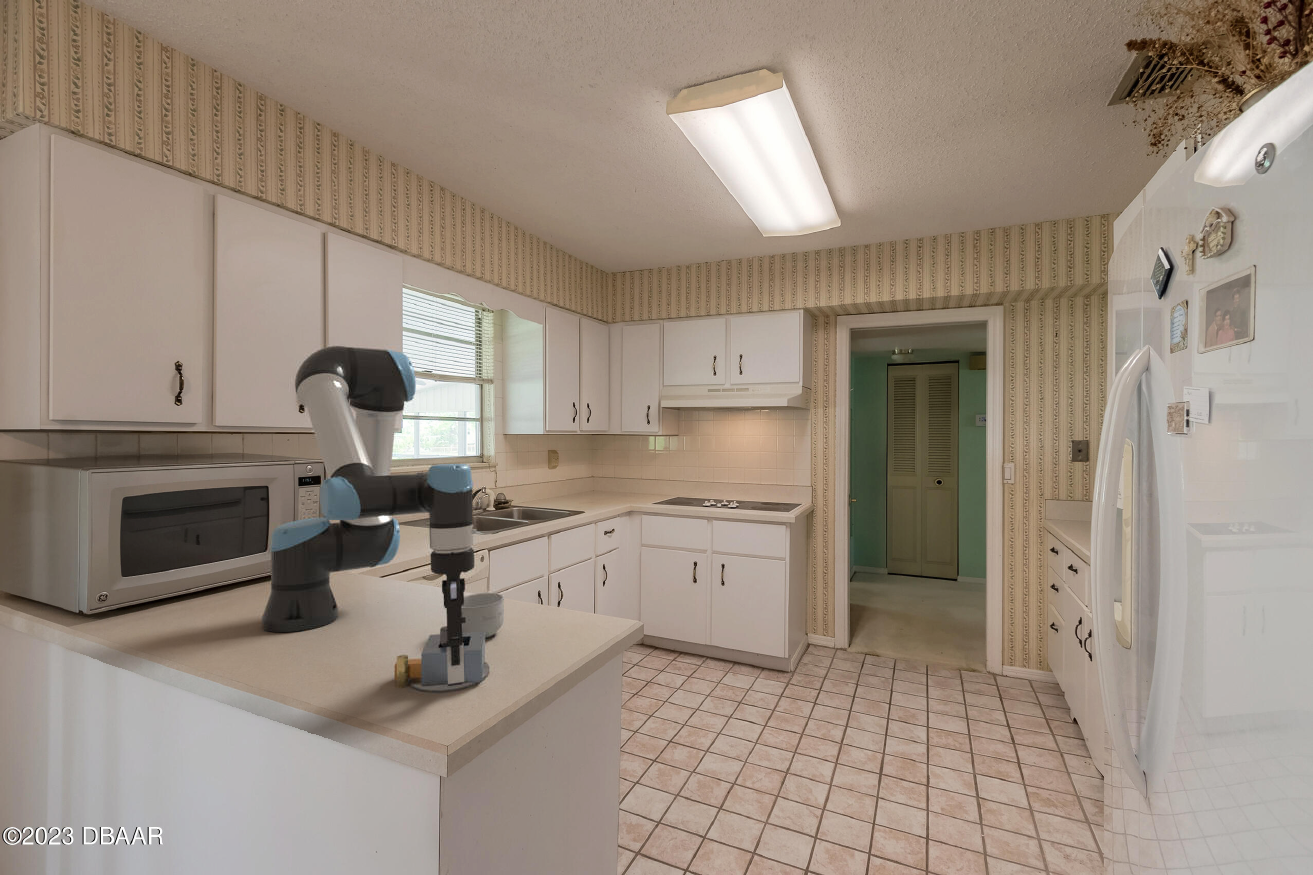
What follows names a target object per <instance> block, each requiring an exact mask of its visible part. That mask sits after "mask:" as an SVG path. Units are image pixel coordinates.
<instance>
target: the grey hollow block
mask: <svg viewBox="0 0 1313 875" xmlns="http://www.w3.org/2000/svg"><path fill="white" fill-rule="evenodd" d="M462 639H463V651H464V682H472V681H481V682H483V681H482V676H483V669H484V663H485V662H486V638H485V631H480V632H465V633H462ZM420 655H421V657H420V658H412V659H411V658H410V659H409V658H408V678H420V677H421V686H426V685H437V684H448V669H447V647H445V648H440V633H439V634H438V633H437V634H435V633H434V634H429V636H428V638H427V640H426V643H425V644H424V647H423V649H422V652H421V654H420ZM394 680H397V661H396V662H395V664H394ZM459 683H461V682H459Z"/></svg>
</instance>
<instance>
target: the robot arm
mask: <svg viewBox="0 0 1313 875" xmlns="http://www.w3.org/2000/svg"><path fill="white" fill-rule="evenodd" d="M416 381H417V380H416V374H415V370H414V367H413V364H412V362H411V359H410V358H409V356H407V355H406V354H405V353H403V352H400V351H396V350H389V349H383V348H381V349H378V348H368V347H367V348H365V347H354V346H353V347H351V346H345V345H344V346H342V345H332V346H327V347H323V348H320V349H318V350H316V351H315V352H313V353H311V354H310V355H309V356H308V357H307V358H306V359H305V360H304V361H303V362H302V364H301V365H300V366H299V368H298V370H297V372H296V375H295V380H294V388H295V393H296V398H297V399H298V401H299V403H300V404H301V405H302V406H304V407H305V408H306V409H307V410H306V411H307V413H308V416H309V420H310V423H311V425H312V426H311V427H312V429H313V432H314V435H315V439H316V442H317V444H318V445H317V446H318V448H319V452H320V455H321V458H322V462H323V464H324V468H325V471H326V474H327V478H326V479H324V480H323V481H322V482H321V486H320V489H319V490H320V492H319V502H320V509H321V510H320V511H321V512H322V515H323V516H324V517H314V518H311V517H310V518H305V519H304V518H303V519H298V520H295V521H291V522H287V523H284V524H281V525H279V526H277V527H276V528H275V529H273V531H272V533H271V538H270V539H271V540H270V547H269V550H270V568H271V569H270V571H271V572H270V578H271V579H270V580H271V581H270V583H271V584H270V594H269V597H268V599H267V603H266V605H265V608H264V612H263V614H262V617H261V628H262V630H264V631H267V632H273V633H292V632H300V631H305V630H306V631H307V630H310V629H311V630H312V629H315V628H320V627H322V626H326V625H329V624H331V623H333V622H335V621H336V620H337V619H338V618H339V607H338V604H337V601H336V599H335V596H334V593H333V591H332V588H331V585H330V579H331V578H330V576H331V573H335V572H344V571H350V570H358V569H366V568H375V567H377V566H383V565H387V564H389V563H390V562H392V561H393V560H394V558H395V557H396V555H397V553H398V550H399V547H400V541H401V534H400V529H401V528H400V524H399V522H398V520H397V519H396V518H394V516H401V515H415V514H424V513H426V514H428V515H429V516H428V518H429V526H428V527H429V529H428V530H429V548H430V549H431V550H432V551H431V553H430V570H431V572H432V573H433V574H435V575H445V576H446V579H443V580H441V592H442V595H443V607H444V608H445V609H446V626H447V642H446V643H443V648H445V647H447V669H448V684H452V683H459V682H464V651H463V639H462V633H463V627H462V623H466V620H465V617H463V618H462V610H461V607H462V606H463V605H464V596H465V590H466V582H465V579H466V578H463V577H462V578H461V574H462V573H467V572H469V571H472V570H473V569H474V568H475V550H474V548H473V546H474V535H476V534H477V533H478V530H477V528H474V513H473V512H474V511H473V510H474V505H473V500H474V499H473V497H474V496H473V487H474V482H473V478H472V469H471V467H470V465H469V464H466V463H444V464H434V465H431V466H430V467H428V470H427V471H428V472H417V473H409V474H393V475H391V473H392V472H391V471H392V460H393V452H394V442H395V441H394V440H395V431H396V420H397V419H396V418H397V416H398V415H399V414H401V413H402V412H403V411H404V409H405V402H407V403H408V402H411V401H413V399H414V396H415V394H416V389H417V388H416V387H417V384H416V383H417V382H416ZM352 410H353V411H354V412H355V416H354V415H353V412H352ZM331 521H339V522H331ZM455 637H459V638H455ZM451 638H454V639H451ZM450 639H451V640H450Z"/></svg>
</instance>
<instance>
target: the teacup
mask: <svg viewBox="0 0 1313 875" xmlns="http://www.w3.org/2000/svg"><path fill="white" fill-rule="evenodd" d="M504 599H505V597H504V595H503V594H501V593H498V592H492V591H490V590H489V591H487V590H486V591H484V592H482V593H481V592H480V593H472V594H467V595H464V605H463V606H462V607H461V610H462V618H463V617H465V620H466V623H462V627H463V633H465V632H480V631H485V639H486V638H489V637H492V636H494V635H495V634H497V632H498V631H499V630H500V629H501V627H502V626H503V624H504V620H505V609H504V608H505V606H504Z"/></svg>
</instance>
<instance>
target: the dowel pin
mask: <svg viewBox="0 0 1313 875" xmlns="http://www.w3.org/2000/svg"><path fill="white" fill-rule="evenodd" d="M408 660H409V656H408V654H401V655H397V656H396V662H397V679H396V688H397V687H398V688H406V687H408V686H409V683H408Z"/></svg>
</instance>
